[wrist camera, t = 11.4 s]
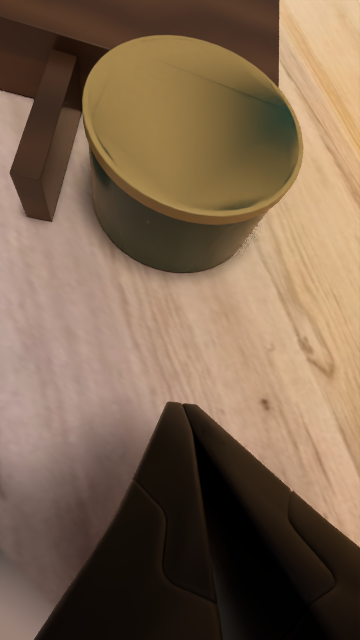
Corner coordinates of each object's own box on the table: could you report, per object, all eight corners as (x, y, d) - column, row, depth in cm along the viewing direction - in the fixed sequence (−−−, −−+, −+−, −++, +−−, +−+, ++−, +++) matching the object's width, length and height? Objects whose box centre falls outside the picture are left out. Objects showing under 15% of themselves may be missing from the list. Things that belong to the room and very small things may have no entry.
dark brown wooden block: (244, 261, 24) (278, 223, 19) (-123, 185, 20) (-196, 112, 15) (255, 5, 33) (280, -62, 28) (10, -82, 29) (-9, -178, 24)
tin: (212, 307, 22) (257, 260, 15) (53, 216, 21) (29, 127, 15) (274, 186, 26) (329, 110, 20) (143, 108, 26) (155, 3, 19)
